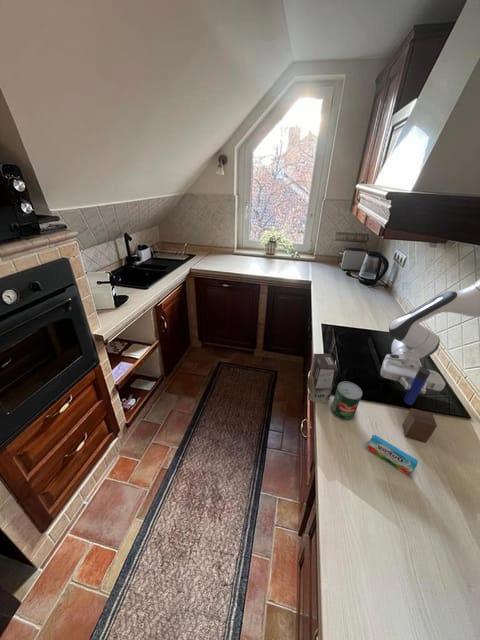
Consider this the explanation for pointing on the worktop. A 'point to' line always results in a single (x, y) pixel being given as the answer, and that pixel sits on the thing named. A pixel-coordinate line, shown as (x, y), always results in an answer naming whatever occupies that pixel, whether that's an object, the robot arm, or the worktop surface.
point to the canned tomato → (346, 400)
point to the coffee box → (322, 377)
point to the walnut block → (419, 425)
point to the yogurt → (392, 455)
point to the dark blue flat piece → (416, 386)
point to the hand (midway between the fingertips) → (415, 390)
